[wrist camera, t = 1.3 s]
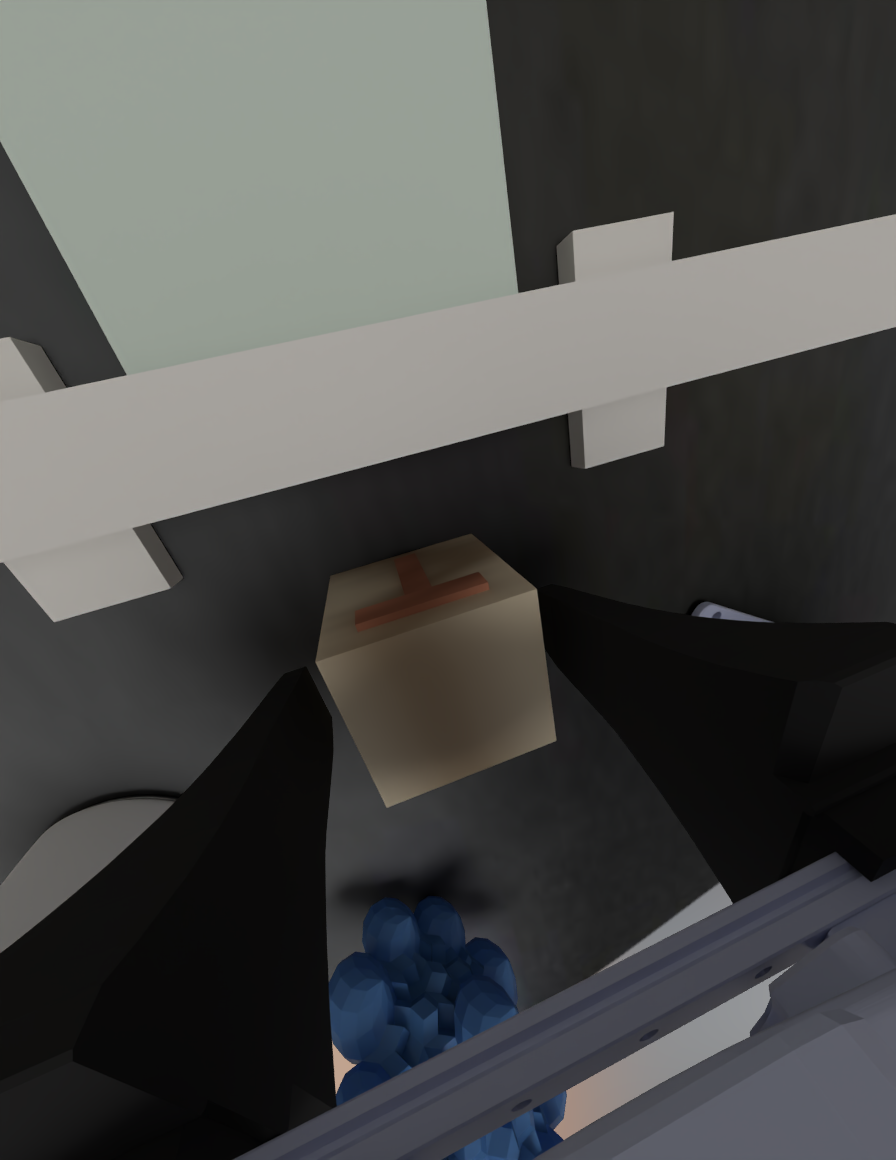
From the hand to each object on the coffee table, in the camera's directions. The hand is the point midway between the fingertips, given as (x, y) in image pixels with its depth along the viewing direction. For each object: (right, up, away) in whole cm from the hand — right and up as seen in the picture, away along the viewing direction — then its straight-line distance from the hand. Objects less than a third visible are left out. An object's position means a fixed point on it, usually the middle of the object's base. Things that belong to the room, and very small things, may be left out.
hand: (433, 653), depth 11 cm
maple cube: (-1, +1, +2) cm, 3 cm away
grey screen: (-2, +7, -1) cm, 7 cm away
